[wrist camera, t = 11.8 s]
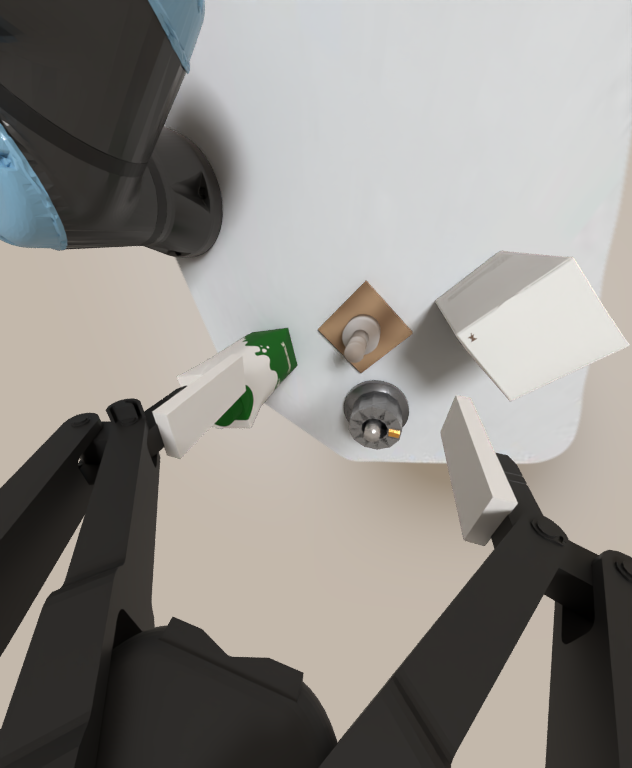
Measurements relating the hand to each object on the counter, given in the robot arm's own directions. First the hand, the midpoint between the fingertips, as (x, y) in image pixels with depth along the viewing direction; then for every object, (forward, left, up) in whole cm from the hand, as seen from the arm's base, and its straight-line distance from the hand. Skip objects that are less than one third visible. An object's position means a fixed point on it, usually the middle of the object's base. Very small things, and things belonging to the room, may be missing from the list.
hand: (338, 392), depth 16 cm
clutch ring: (+14, -11, -24) cm, 30 cm away
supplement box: (+10, +10, -26) cm, 29 cm away
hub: (+14, -12, -26) cm, 31 cm away
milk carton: (-6, -18, -26) cm, 32 cm away
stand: (+2, -4, -26) cm, 26 cm away
